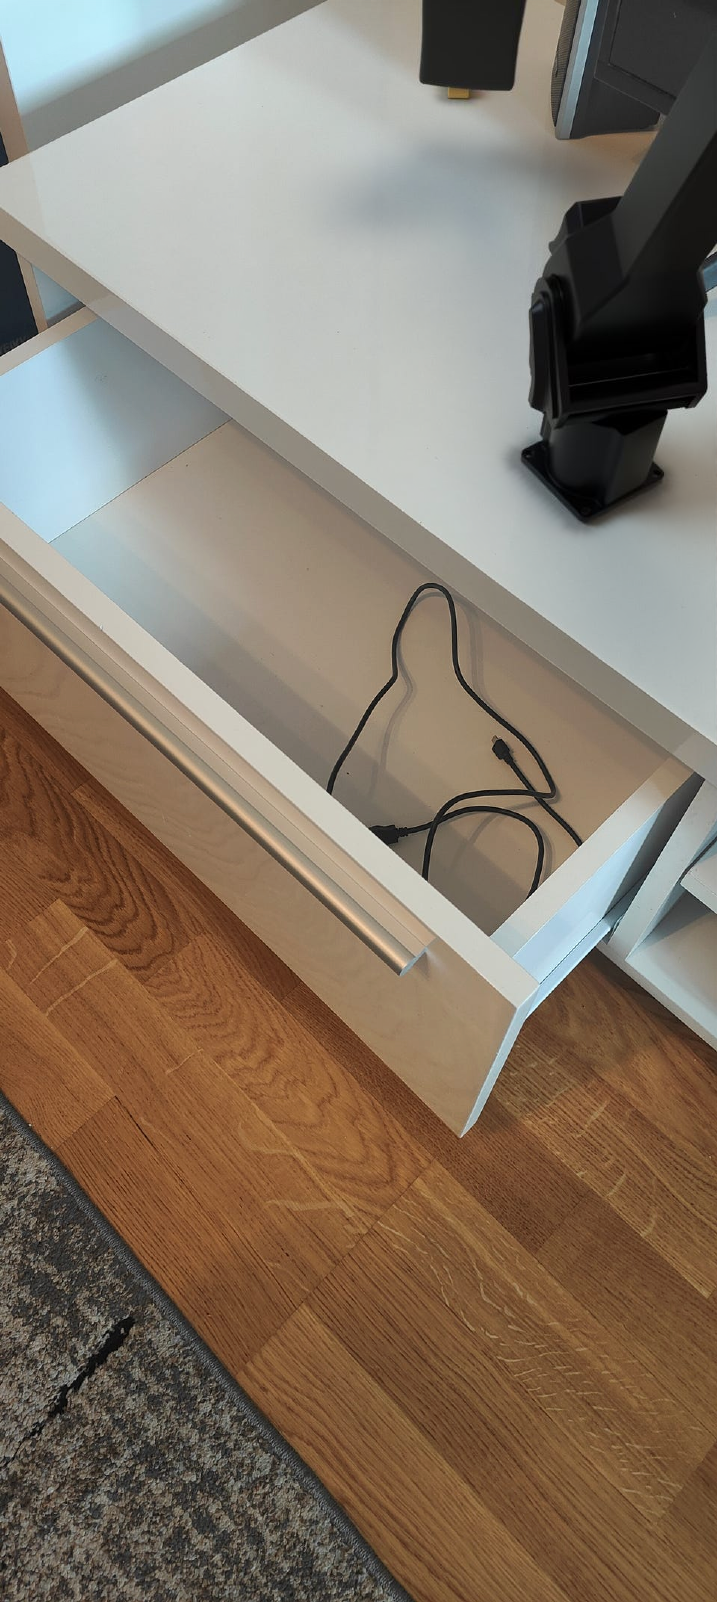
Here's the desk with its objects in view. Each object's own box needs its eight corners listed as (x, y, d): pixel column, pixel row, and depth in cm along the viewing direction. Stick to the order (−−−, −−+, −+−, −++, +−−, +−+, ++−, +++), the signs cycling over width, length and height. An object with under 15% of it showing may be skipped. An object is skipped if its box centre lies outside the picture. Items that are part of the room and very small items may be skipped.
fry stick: (468, 98, 87) (469, 82, 86) (447, 97, 87) (448, 81, 86) (466, 39, 91) (467, 23, 90) (446, 39, 91) (447, 23, 90)
